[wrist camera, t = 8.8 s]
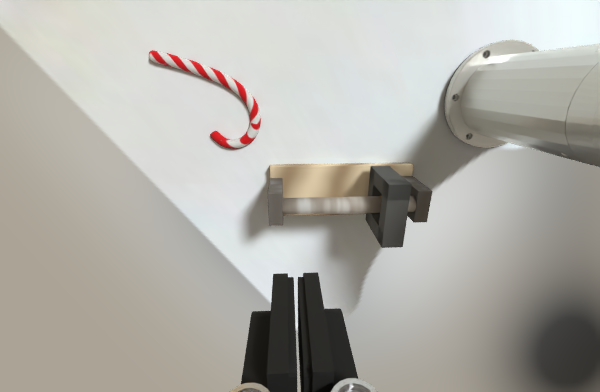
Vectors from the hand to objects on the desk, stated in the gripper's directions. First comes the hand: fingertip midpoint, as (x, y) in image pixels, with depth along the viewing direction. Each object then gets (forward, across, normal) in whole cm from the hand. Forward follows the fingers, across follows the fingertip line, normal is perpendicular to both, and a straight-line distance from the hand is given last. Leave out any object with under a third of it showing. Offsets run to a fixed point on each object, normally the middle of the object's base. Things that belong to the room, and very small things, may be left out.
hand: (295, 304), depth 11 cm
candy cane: (+30, +10, -6) cm, 32 cm away
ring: (+27, -12, +6) cm, 30 cm away
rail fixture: (+29, -7, +6) cm, 31 cm away
